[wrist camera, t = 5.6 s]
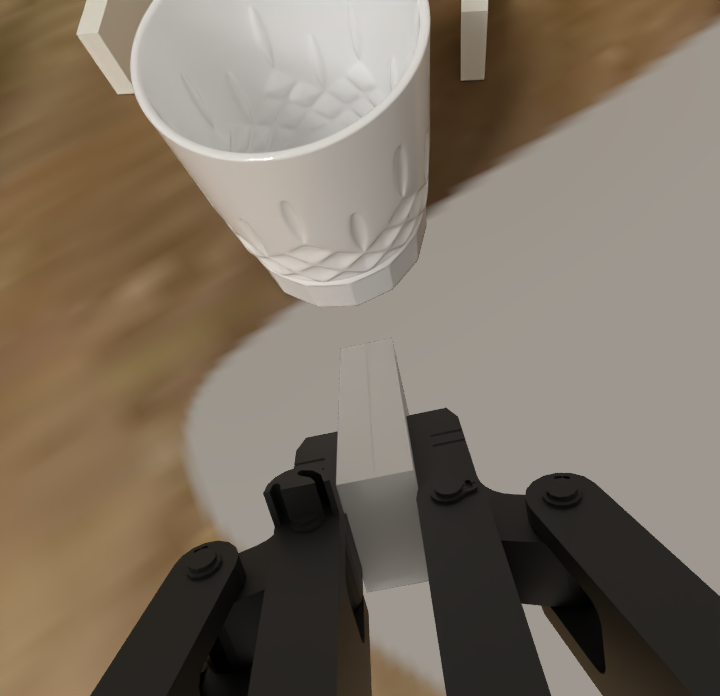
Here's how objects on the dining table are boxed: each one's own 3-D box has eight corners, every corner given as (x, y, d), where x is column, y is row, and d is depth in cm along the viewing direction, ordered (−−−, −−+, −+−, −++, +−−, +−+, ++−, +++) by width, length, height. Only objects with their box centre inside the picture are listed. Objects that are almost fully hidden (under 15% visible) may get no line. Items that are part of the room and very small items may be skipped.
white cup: (389, 123, 27) (352, -118, 18) (476, 268, 24) (487, 69, 15) (221, 202, 27) (96, -1, 18) (288, 357, 24) (180, 212, 15)
